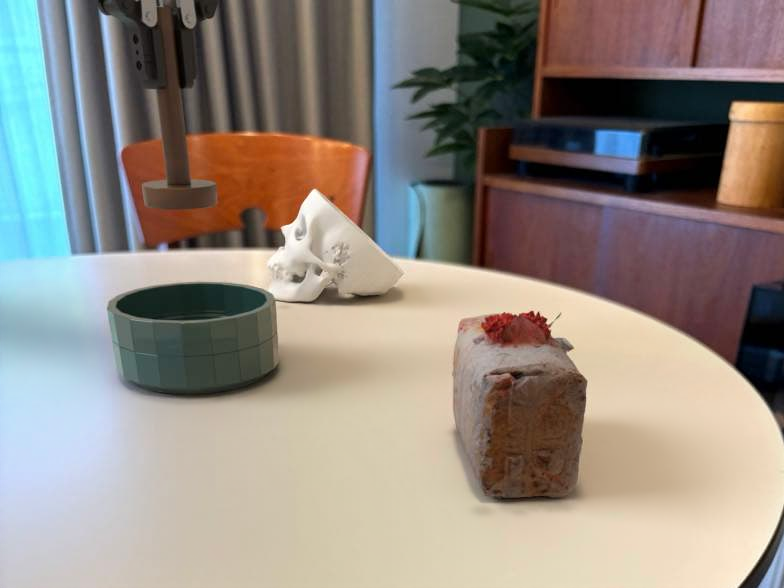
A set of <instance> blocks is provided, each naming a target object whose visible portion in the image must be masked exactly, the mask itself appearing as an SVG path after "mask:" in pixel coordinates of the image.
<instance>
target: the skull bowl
mask: <svg viewBox="0 0 784 588" xmlns="http://www.w3.org/2000/svg"><path fill="white" fill-rule="evenodd" d="M280 229H281V233H282V235H283V236H284V239H285V240H284V241H285V242H284V246H279V247H278V249H277V252H276V253H275V254H273V255H272V256H271V257H270V258H269V259H268V260H267V262H266V267H267V268H269V274H270V277H271V282H270V284H269V286H268V289H267V291H268V292H270V293H272V294H273V296H274V298H275V301H281V302H306V303H307V302H313V301H315V300H317V299H318V297H319V296H320V295H321V294H322V293H323V290H324V289H325V288H329V287H330V286H331V285H333V284H334V285H335V286H336V287H337V293H338V294H339V295H347V294H352V295H357V296H376V295H384V294H386V293H387V292H388V291H389V290H390V289H391V288H392V287H394V286H395V285H396V284H397V283H398V282H399V280H401V278H402V276H403V275H404V274H405V272H404V270H403V269H402V268H401V267H400V266H399V265H398V263H396V262H395V260H393V258H391V256H390V255H389V254H388V253H387V252H386V251H385V250H383V249H382V248H381V247H380V246H379V245H378V244H377V243H376V242H375V241H374V240H373V239H372V238H371V237H370V236H369V235H368V234H367V233H366V232H364V231H363V230H362V229H361V228H360V227H359V226H358V225H357V224H356V223H355V222H354V221H353V220H352V219H350V217H348V216H347V215H346V214H345V213H344V212H343V211H342V210H341V209H339V207H337V205H335V204H334V203H333V202H332V201H331V200H329V199H328V198H327V197H326V196H325V195H324V194H323V193H322V192H320V191H319V190H318V189H317V188H313V189H312V190H311V191H310V193H309V194H308V196H307V197H306V198H305V199H304V201H303V202H302V204H301V206H300V209H299V211H298V214H297V217H296V218H295V220H294V221H293V222H292V223H288V224H286V225H283V226H281V227H280ZM323 272H324V273H326V274H323V275H322V273H323Z"/></svg>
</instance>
